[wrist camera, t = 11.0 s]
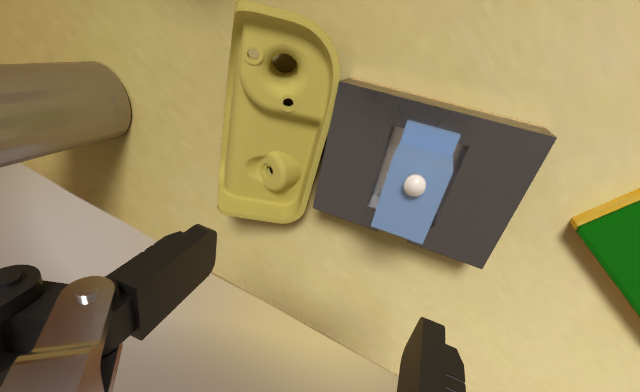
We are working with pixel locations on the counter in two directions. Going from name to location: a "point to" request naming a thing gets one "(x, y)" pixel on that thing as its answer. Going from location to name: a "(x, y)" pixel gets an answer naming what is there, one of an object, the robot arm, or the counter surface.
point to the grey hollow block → (468, 164)
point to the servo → (416, 181)
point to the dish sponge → (615, 241)
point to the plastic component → (274, 114)
